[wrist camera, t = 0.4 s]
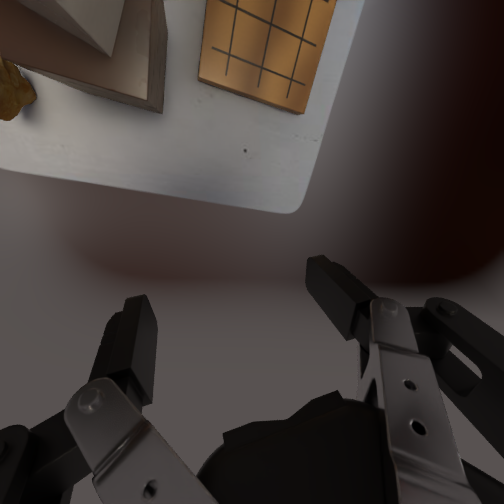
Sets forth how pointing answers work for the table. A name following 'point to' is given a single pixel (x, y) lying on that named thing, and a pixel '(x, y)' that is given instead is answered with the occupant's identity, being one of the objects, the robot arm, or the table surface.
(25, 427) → the robot arm
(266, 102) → the board
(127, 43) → the plinth
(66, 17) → the beige block
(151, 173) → the table surface
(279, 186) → the table surface
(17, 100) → the stone tool
